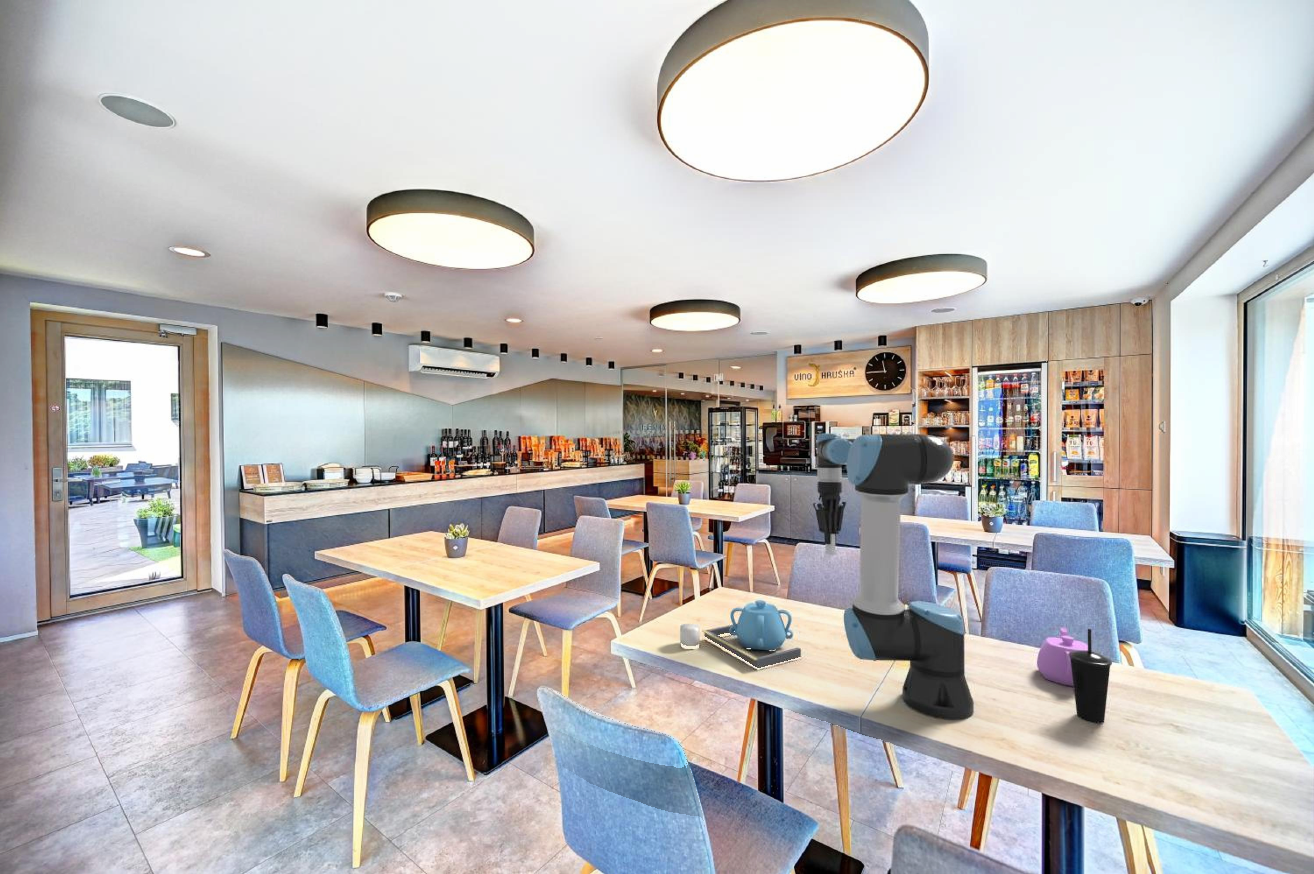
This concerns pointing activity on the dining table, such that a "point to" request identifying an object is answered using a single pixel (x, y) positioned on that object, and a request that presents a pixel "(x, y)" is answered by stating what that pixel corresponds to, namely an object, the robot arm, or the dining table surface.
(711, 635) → the grey piece
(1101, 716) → the drinking cup
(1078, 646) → the teapot
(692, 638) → the white rounded cylinder
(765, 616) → the decorative pot
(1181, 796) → the dining table surface
